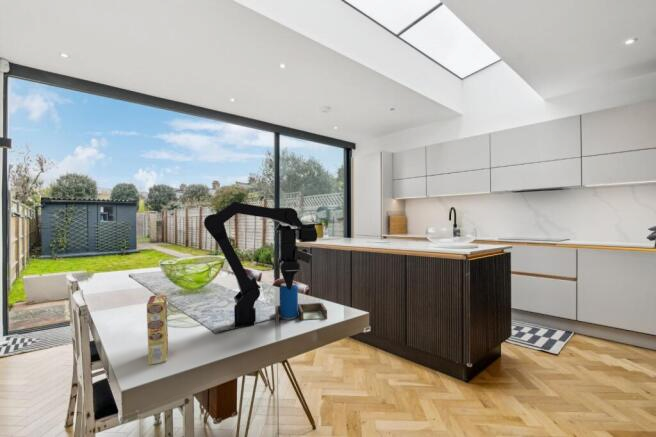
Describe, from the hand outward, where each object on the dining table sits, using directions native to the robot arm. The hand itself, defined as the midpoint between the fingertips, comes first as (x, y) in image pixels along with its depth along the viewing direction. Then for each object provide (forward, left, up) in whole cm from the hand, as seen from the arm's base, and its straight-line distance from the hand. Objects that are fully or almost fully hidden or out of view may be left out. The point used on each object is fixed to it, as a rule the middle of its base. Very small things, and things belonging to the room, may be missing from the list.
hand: (288, 286), depth 116 cm
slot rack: (+4, 0, -11) cm, 12 cm away
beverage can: (0, 0, -11) cm, 11 cm away
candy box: (-36, -25, -11) cm, 45 cm away
